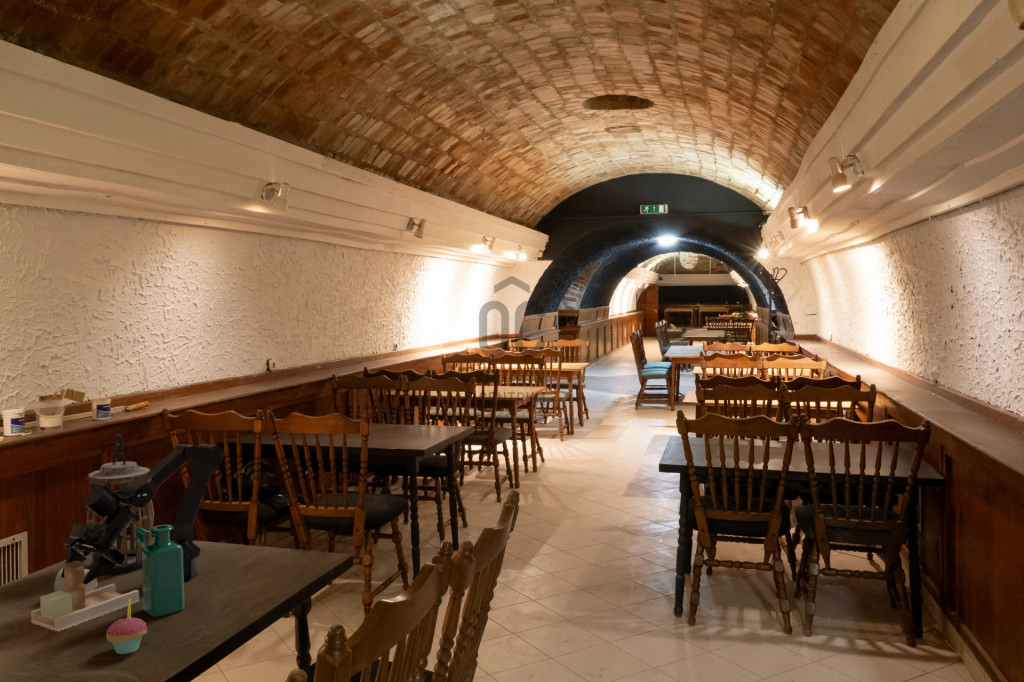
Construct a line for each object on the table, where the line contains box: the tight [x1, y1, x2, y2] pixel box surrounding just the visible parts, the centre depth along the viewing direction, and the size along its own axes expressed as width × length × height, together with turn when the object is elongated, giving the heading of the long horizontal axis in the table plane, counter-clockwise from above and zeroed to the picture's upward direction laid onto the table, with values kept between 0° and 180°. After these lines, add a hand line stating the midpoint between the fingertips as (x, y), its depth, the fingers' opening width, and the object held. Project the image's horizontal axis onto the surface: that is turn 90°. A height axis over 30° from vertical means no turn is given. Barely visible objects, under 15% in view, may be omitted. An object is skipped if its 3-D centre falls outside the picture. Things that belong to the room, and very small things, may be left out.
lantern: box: [82, 433, 155, 576], centre depth 242 cm, size 19×19×40 cm
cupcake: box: [105, 595, 148, 655], centre depth 185 cm, size 9×8×12 cm
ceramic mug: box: [53, 567, 98, 593], centre depth 220 cm, size 11×8×8 cm
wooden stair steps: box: [37, 561, 119, 625], centre depth 205 cm, size 18×8×13 cm, turn 150°
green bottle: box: [135, 524, 185, 618], centre depth 207 cm, size 10×8×22 cm
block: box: [39, 590, 73, 620], centre depth 200 cm, size 5×5×5 cm
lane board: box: [30, 583, 140, 633], centre depth 207 cm, size 22×11×3 cm, turn 150°
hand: (73, 580), depth 203 cm, fingers open, 9 cm apart
